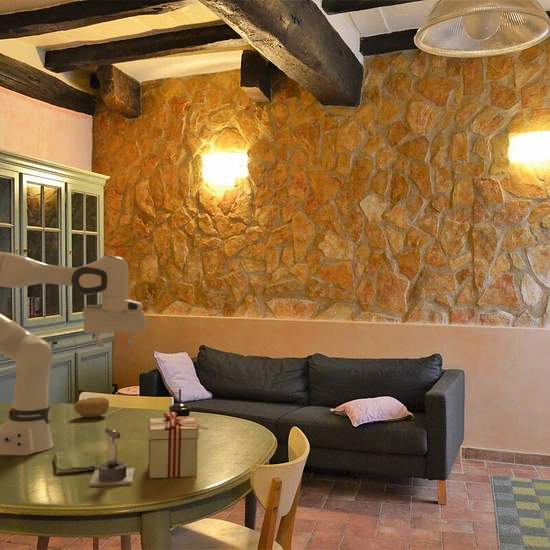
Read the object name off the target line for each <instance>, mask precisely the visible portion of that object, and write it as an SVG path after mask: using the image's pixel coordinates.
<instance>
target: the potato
mask: <svg viewBox="0 0 550 550" xmlns="http://www.w3.org/2000/svg"><path fill="white" fill-rule="evenodd" d="M109 407H110V401H109V399H108V398H107V397H105V396H104V397H103V396H102V397H101V396H99V397H89V398H82V399H79V400H78V401H76V402H75V403H74V406H73V408H74V411H75V412H76V413H77V414H78V415H80V416H81V417H83V418H88V419H90V418H91V419H92V417H94V418H97V417H98V418H99V417H100V416H101V417H102V415H104V414H106V413H107V411H108V410H109Z"/></svg>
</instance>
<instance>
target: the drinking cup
mask: <svg viewBox="0 0 550 550" xmlns="http://www.w3.org/2000/svg"><path fill="white" fill-rule="evenodd" d="M191 408H192V407H191V405H188V404H186V403H183V402H182V389H181V388H179V389H178V403H174V404H172V405H170V406H168V409H169V412H176V413H177V417H179V416H181V417H188V416H190V415H191V414H190V412H191Z"/></svg>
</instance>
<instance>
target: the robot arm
mask: <svg viewBox="0 0 550 550" xmlns="http://www.w3.org/2000/svg"><path fill="white" fill-rule="evenodd" d="M128 266H129V265H128V262H127V260H126V259H125V258H123V257H122V256H117V255H110V254H105V255H103V256H102V257H101V258H99V259H97V260H96V261H92V262H91V263H88V264H84V265H81V266H77V267H76V266H75V267H74V266H73V267H70V266H64V265H63V266H61V265H55V264H48V263H43V262H41V261H38V260H35V259H32V258H30V257H27V256H24V255H21V254H16V253H12V252H7V251H5V252H4V251H0V287H2V288H3V287H4V288H24V287H30V286H33V285H40V284H52V285H59V286H60V285H61V286H68V287H72V288H73V289H74V290H75V291H76V292H77V293H78V294H80V295H83V296H89V295H93V294H97V293H100V294H101V299H100V300H101V302H100V303H101V304H87V305H86V306H84V307H83V309H82V316H83V318H84V320H83V332H84V333H85V334H94V337H95V339H96V341H97V343H98V345H97V346H98V348H99V347H104V340H101V338H100V335H101V334H107V333H109V334H112V333H114V334H116V333H117V334H118V333H120V334H121V333H130V334H131V336H132V337H131V339H128V340H127V347H132V346H133V342H134V339H135V337H136V336H137V333H145V331H146V330H147V318H146V314H145V311H143V310H142V309H143V303H142V302H140V301H137V300H133V299H130V293H129V290H128V289H129V287H128V286H129V283H130V280H129V279H130V275H129V274H130V273H129V267H128ZM0 354H2V355H3V356H5V357H6V358H9V359H10V360H12V361H14V362H15V363H16V375H15V383H14V406H12V407H10V408H9V410H8V413H7V416H8V420H6V421H5V422H4V423H2V424H1V425H0V456H30V455H29V454H31V455H32V453H33V454H35V452H36V453H40V452H43V451H47V450H50V449H52V448H53V447H54V442H53V438H52V433H51V432H52V431H51V426H50V422H51V409H50V408H51V406H50V404H49V381H50V376H51V375H50V373H51V365H52V359H53V351H52V348H51V345H50V344H49V343H48V342H47V341H46V340H44V339H42V338H41V337H39V336H37V335H35V334H33V333H32V332H30V331H28V330H27V329H26V328H25V327H22V326H21V325H19V324H18V323H16V322H15V321H13V320H12V319H10V318H8V317H7V316H5V315H4V314H2V313H0Z"/></svg>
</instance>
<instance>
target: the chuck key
mask: <svg viewBox="0 0 550 550" xmlns="http://www.w3.org/2000/svg"><path fill="white" fill-rule="evenodd" d="M104 433H105V434H106V435H108V436H107V453H108V455H107V459H108V461H107V462H108V467H117V461H118V439H119V438H120V437H121V433H120V432H118V431H117V430H114V429H113V428H110V427H106V428H105V429H104Z"/></svg>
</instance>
